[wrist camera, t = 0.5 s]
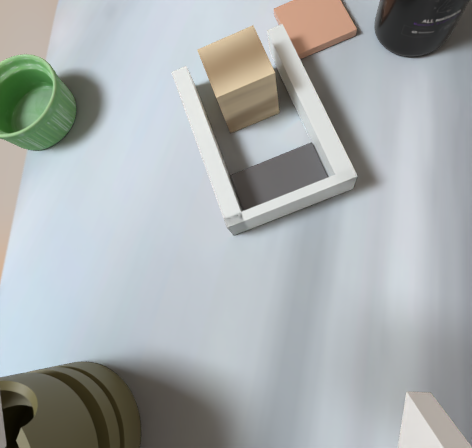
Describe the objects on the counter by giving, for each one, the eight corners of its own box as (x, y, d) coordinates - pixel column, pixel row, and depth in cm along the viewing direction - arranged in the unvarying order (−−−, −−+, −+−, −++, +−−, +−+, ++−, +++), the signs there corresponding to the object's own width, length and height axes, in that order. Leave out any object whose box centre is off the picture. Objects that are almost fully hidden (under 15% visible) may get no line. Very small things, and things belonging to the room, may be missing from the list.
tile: (355, 35, 35) (356, 29, 34) (296, 60, 35) (296, 55, 34) (330, -10, 36) (331, -17, 36) (274, 15, 37) (273, 8, 36)
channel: (352, 189, 31) (357, 176, 28) (233, 235, 32) (226, 227, 29) (284, 47, 36) (282, 23, 33) (181, 91, 37) (171, 72, 34)
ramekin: (-7, 143, 40) (-44, 123, 35) (30, 73, 41) (-1, 45, 37) (58, 166, 37) (27, 147, 33) (95, 91, 39) (70, 64, 35)
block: (279, 113, 34) (275, 72, 28) (230, 133, 35) (216, 97, 29) (261, 71, 36) (253, 25, 30) (214, 91, 36) (197, 49, 30)
